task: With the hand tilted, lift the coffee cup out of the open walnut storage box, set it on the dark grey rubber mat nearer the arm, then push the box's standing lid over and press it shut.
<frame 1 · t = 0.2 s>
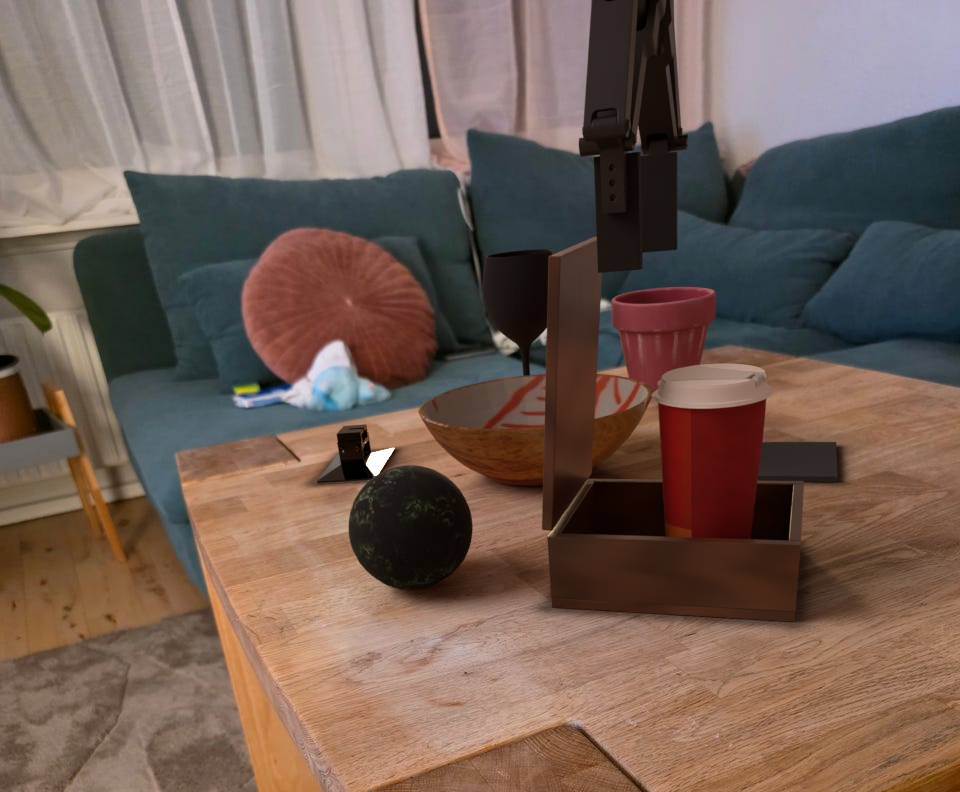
hand: (641, 260, 62), 23 cm above the table, tool pointing down, fingers open, 13 cm apart
bowl: (539, 472, 99), on the table
storage box: (680, 576, 71), on the table
wine glass: (528, 404, 128), on the table
lid: (573, 381, 66), point 16 cm above the table, hinge at 85.0°
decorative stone: (418, 586, 74), on the table
coffee cup: (705, 570, 70), point 1 cm above the table, touching storage box
flower pot: (662, 389, 129), on the table
mat: (775, 463, 94), on the table
black block with wedges: (357, 467, 108), on the table
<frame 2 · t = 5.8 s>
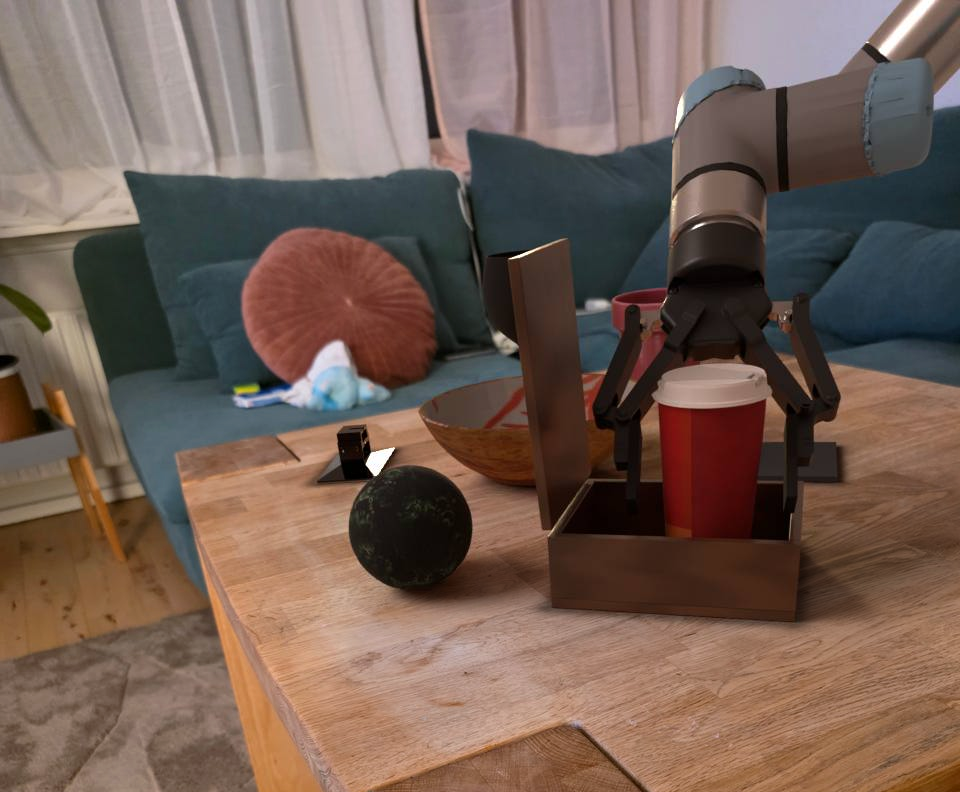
hand: (709, 506, 64), 7 cm above the table, tool tilted 45°, fingers open, 10 cm apart
lid: (555, 381, 67), point 16 cm above the table, hinge at 93.4°
everything else where it was.
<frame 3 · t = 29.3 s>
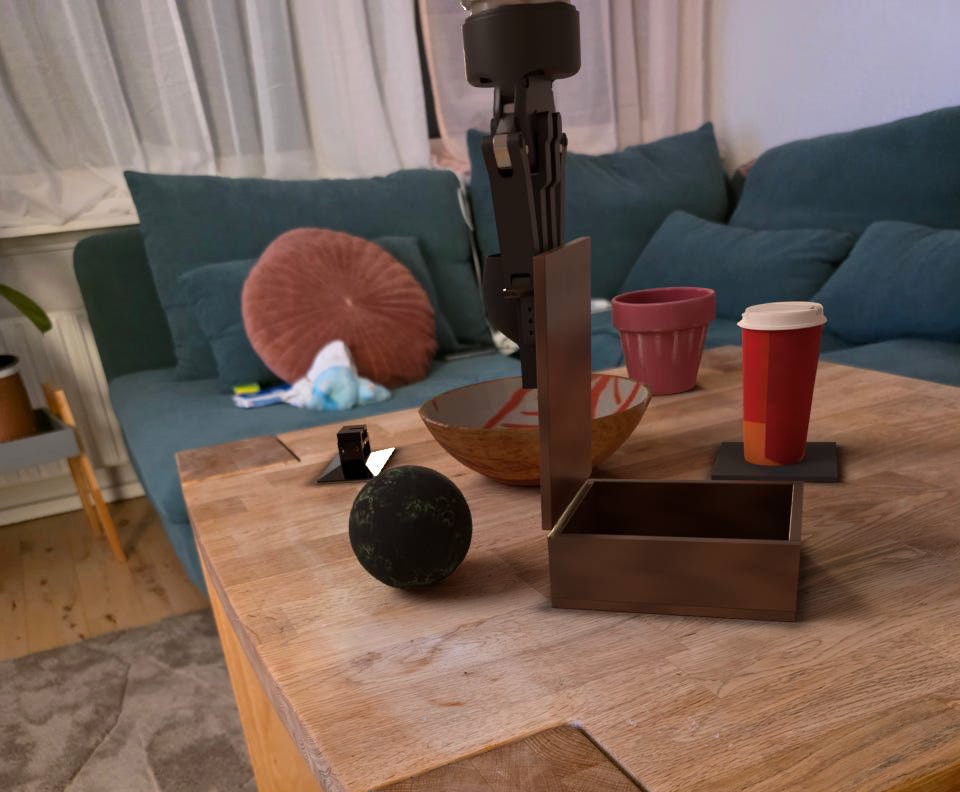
hand: (542, 386, 67), 15 cm above the table, tool pointing down, fingers closed
lid: (566, 381, 66), point 16 cm above the table, hinge at 88.1°, touching gripper
coffee cup: (772, 459, 94), resting on mat
everything else where it was.
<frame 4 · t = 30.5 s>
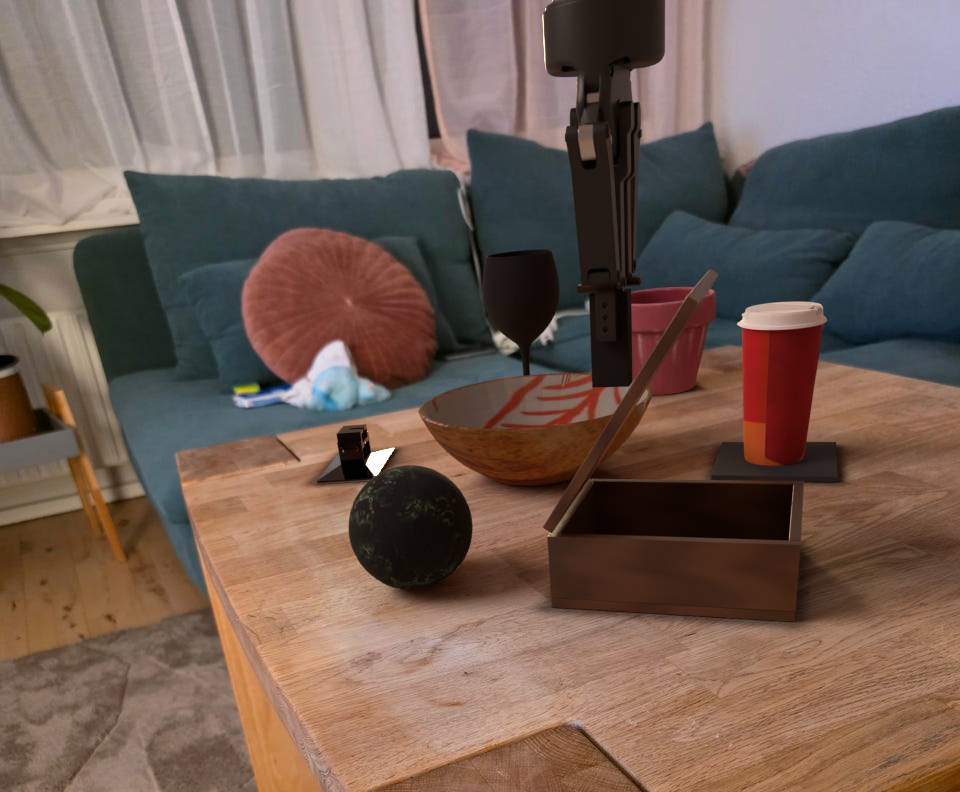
hand: (612, 384, 66), 15 cm above the table, tool pointing down, fingers closed
lid: (631, 400, 66), point 14 cm above the table, hinge at 56.7°, touching gripper
everything else where it was.
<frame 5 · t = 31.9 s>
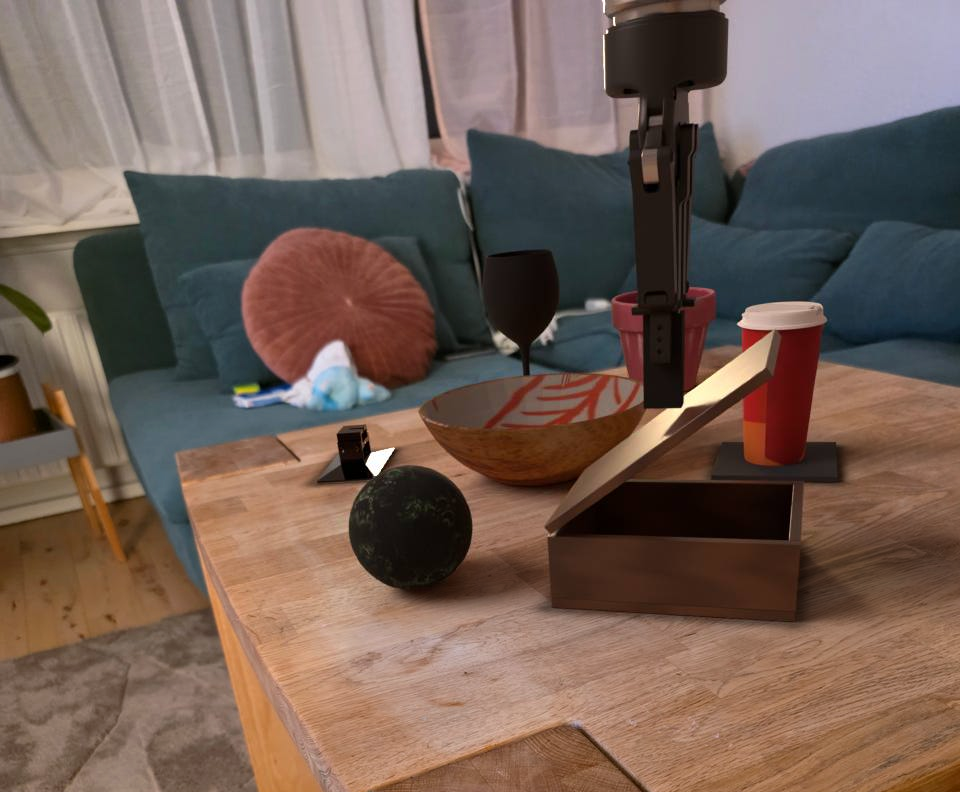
hand: (663, 405, 65), 14 cm above the table, tool pointing down, fingers closed
lid: (663, 430, 66), point 12 cm above the table, hinge at 36.2°, touching gripper
everything else where it was.
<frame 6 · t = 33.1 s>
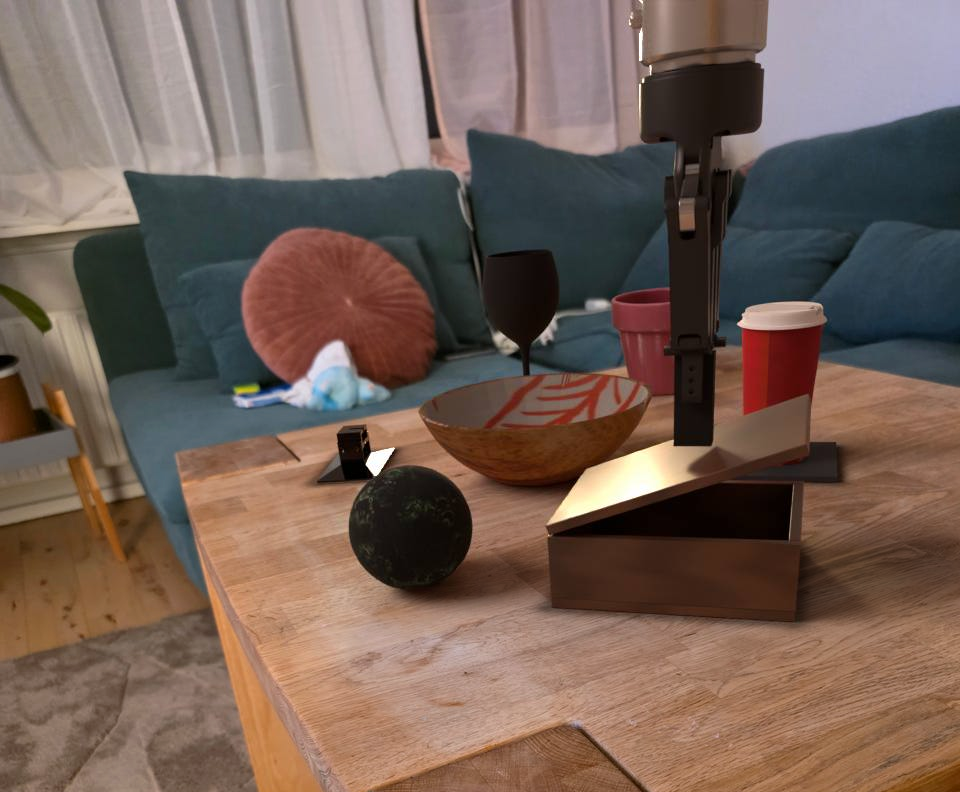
hand: (693, 443, 66), 11 cm above the table, tool pointing down, fingers closed
lid: (681, 463, 67), point 9 cm above the table, hinge at 19.1°, touching gripper
everything else where it was.
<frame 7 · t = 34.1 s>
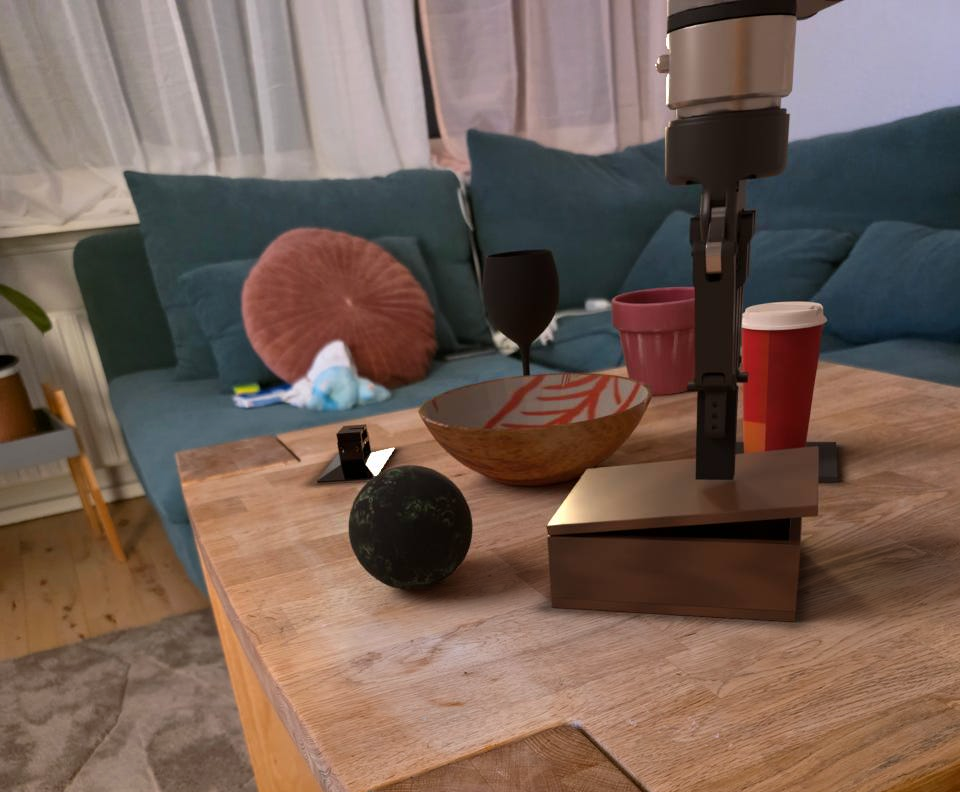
hand: (715, 476, 66), 8 cm above the table, tool pointing down, fingers closed
lid: (687, 489, 67), point 7 cm above the table, hinge at 6.1°, touching gripper
everything else where it was.
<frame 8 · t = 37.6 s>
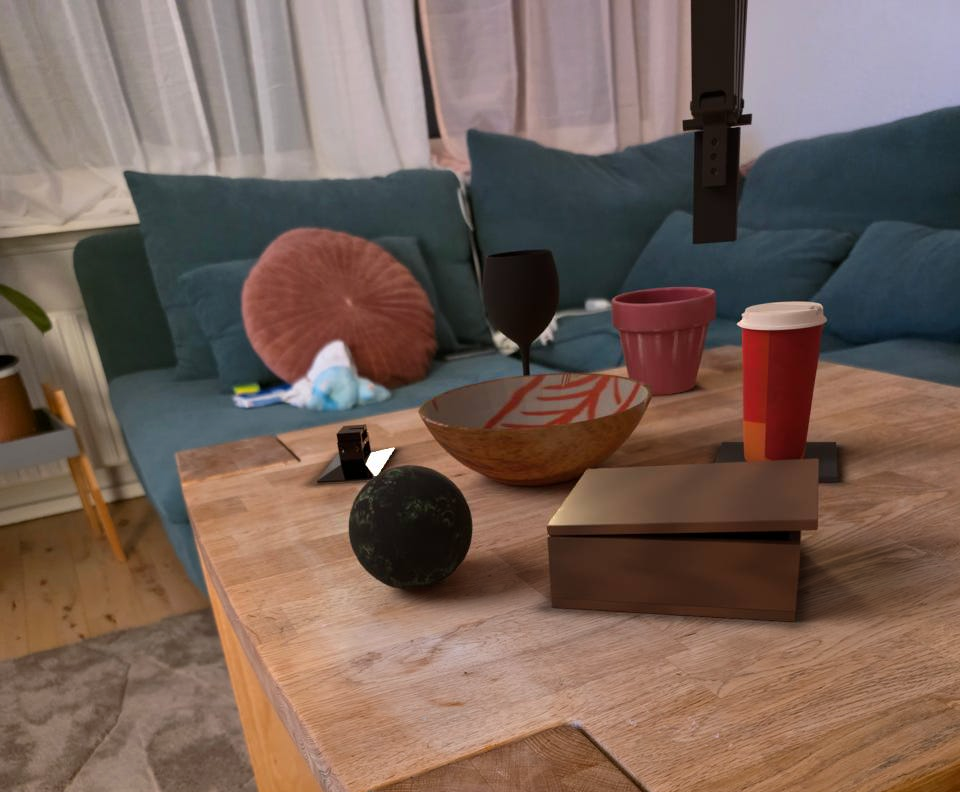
hand: (714, 241, 59), 24 cm above the table, tool pointing down, fingers closed
lid: (687, 495, 68), point 7 cm above the table, hinge at 3.1°
everything else where it was.
at the end: coffee cup inside the target area on the mat (0.3 cm from its centre), point 0.4 cm above the mat's base; coffee cup tilted 0°; lid at +3° (first picture: +85°) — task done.
